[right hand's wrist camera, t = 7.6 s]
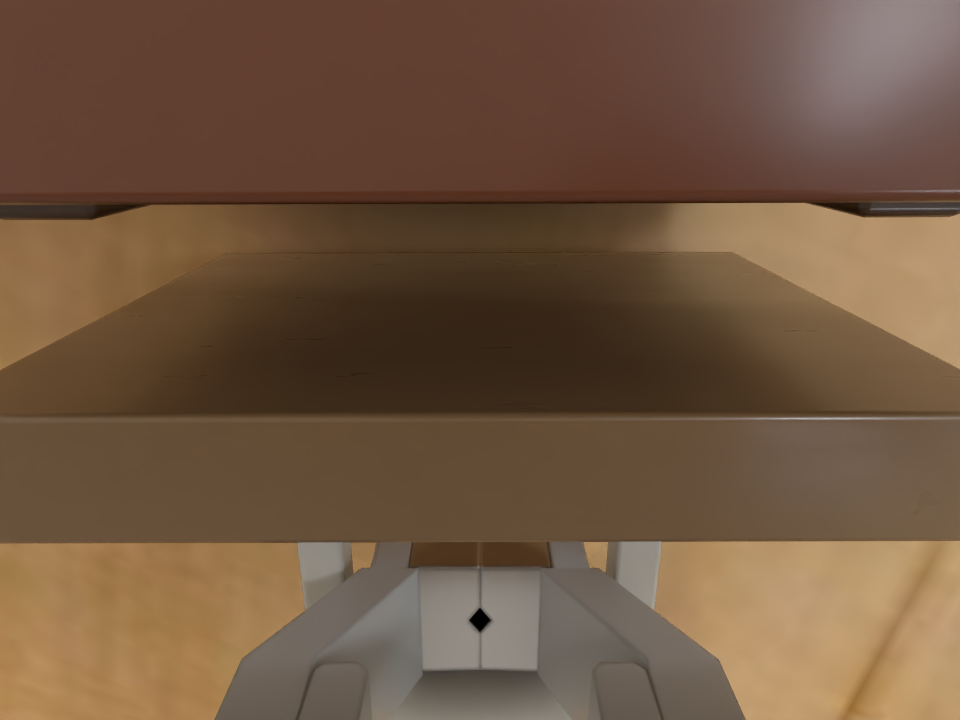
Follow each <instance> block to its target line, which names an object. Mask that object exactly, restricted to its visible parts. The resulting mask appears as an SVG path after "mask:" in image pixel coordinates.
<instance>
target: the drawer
mask: <svg viewBox="0 0 960 720" xmlns="http://www.w3.org/2000/svg"><path fill="white" fill-rule="evenodd" d="M808 204H812V205H816V206H820V207H824V208H828V209H832V210H836V211H840V212H844V213H848V214H852V215H857V216H861V217H950V216H954V215H957V214H960V202H846V203H808ZM144 206H148V205H0V219H3V220H93V219H97V218H101V217H105V216H109V215H113V214H117V213H121V212H125V211H129V210H132V209H136V208H140V207H144ZM680 541H960V369H959V368H957V367H955V366H953V365H951V364H949V363H947V362H945V361H943V360H941V359H939V358H937V357H935V356H933V355H931V354H929V353H927V352H926V351H924V350H922V349H920V348H918V347H916V346H914V345H912V344H910V343H908V342H906V341H904V340H902V339H900V338H898V337H896V336H894V335H892V334H890V333H889V332H887V331H885V330H883V329H881V328H879V327H877V326H875V325H873V324H871V323H869V322H867V321H865V320H863V319H861V318H859V317H857V316H855V315H853V314H852V313H850V312H848V311H846V310H844V309H842V308H840V307H838V306H836V305H834V304H832V303H830V302H828V301H826V300H824V299H822V298H820V297H818V296H817V295H815V294H813V293H811V292H809V291H807V290H805V289H803V288H801V287H799V286H797V285H795V284H793V283H791V282H789V281H787V280H785V279H783V278H781V277H780V276H778V275H776V274H774V273H772V272H770V271H768V270H766V269H764V268H762V267H760V266H758V265H756V264H754V263H752V262H750V261H748V260H746V259H745V258H743V257H741V256H739V255H737V254H735V253H733V252H618V253H270V254H224V255H222V256H220V257H218V258H216V259H214V260H212V261H211V262H209V263H207V264H205V265H203V266H201V267H199V268H197V269H195V270H193V271H191V272H189V273H187V274H185V275H183V276H182V277H180V278H178V279H176V280H174V281H172V282H170V283H168V284H166V285H164V286H162V287H160V288H158V289H156V290H154V291H152V292H151V293H149V294H147V295H145V296H143V297H141V298H139V299H137V300H135V301H133V302H131V303H129V304H127V305H125V306H123V307H122V308H120V309H118V310H116V311H114V312H112V313H110V314H108V315H106V316H104V317H102V318H100V319H98V320H96V321H94V322H93V323H91V324H89V325H87V326H85V327H83V328H81V329H79V330H77V331H75V332H73V333H71V334H69V335H67V336H65V337H63V338H62V339H60V340H58V341H56V342H54V343H52V344H50V345H48V346H46V347H44V348H42V349H40V350H38V351H36V352H34V353H33V354H31V355H29V356H27V357H25V358H23V359H21V360H19V361H17V362H15V363H13V364H11V365H9V366H7V367H5V368H4V369H2V370H0V543H297V548H298V556H299V564H300V573H301V581H302V589H303V597H304V606H305V611H306V610H307V609H308V608H309V607H311V606H312V605H313V604H315V603H316V602H317V601H319V600H320V599H321V598H323V597H324V596H325V595H327V594H328V593H329V592H331V591H332V590H333V589H334V588H336V587H337V586H338V585H340V584H341V583H342V582H344V581H345V580H346V579H348V578H349V577H350V576H352V575H353V563H352V551H351V542H608V551H607V563H606V574H607V575H608V576H610V577H611V578H612V579H614V580H615V581H616V582H618V583H619V584H620V585H622V586H623V587H624V588H625V589H627V590H628V591H629V592H631V593H632V594H633V595H635V596H636V597H637V598H639V599H640V600H641V601H642V602H644V603H645V604H646V605H648V606H649V607H650V608H652V609H653V610H654V607H655V598H656V590H657V581H658V572H659V563H660V554H661V546H662V542H680ZM389 720H571V718H570V717H569V716H568V714H567V713H566V712H565V710H564V709H563V708H562V706H561V705H560V704H559V702H558V701H557V700H556V698H555V697H554V696H553V694H552V693H551V692H550V690H549V689H548V688H547V686H546V685H545V684H544V682H543V681H542V680H541V678H540V677H539V676H538V674H537V671H503V670H455V671H423V675H422V677H421V678H420V679H419V680H418V682H417V683H416V684H415V686H414V687H413V688H412V690H411V691H410V692H409V694H408V695H407V696H406V698H405V699H404V700H403V702H402V703H401V704H400V706H399V707H398V708H397V709H396V711H395V712H394V713H393V715H392V716H391V717H390V719H389Z"/></svg>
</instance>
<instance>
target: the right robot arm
mask: <svg viewBox="0 0 960 720" xmlns="http://www.w3.org/2000/svg"><path fill="white" fill-rule="evenodd" d="M455 670H503V671H537V674H538V676H539V677H540V678H541V680H542V681H543V682H544V684H545V685H546V686H547V688H548V689H549V690H550V692H551V693H552V694H553V696H554V697H555V698H556V700H557V701H558V702H559V704H560V705H561V706H562V708H563V709H564V710H565V712H566V713H567V714H568V716H569V717H570V718H571V720H746V719H745V717H744V715H743V713H742V711H741V708H740V706H739V704H738V702H737V699H736V697H735V695H734V693H733V690H732V688H731V686H730V684H729V681H728V679H727V677H726V675H725V672H724V670H723V668H722V666H721V663H720V661H719V660H718V659H717V658H716V657H714V656H713V655H712V654H711V653H709V652H708V651H707V650H705V649H704V648H703V647H701V646H700V645H699V644H697V643H696V642H695V641H694V640H692V639H691V638H690V637H688V636H687V635H686V634H684V633H683V632H682V631H680V630H679V629H678V628H676V627H675V626H674V625H673V624H671V623H670V622H669V621H667V620H666V619H665V618H663V617H662V616H661V615H659V614H658V613H657V612H656V611H654V610H653V609H652V608H650V607H649V606H648V605H646V604H645V603H644V602H642V601H641V600H640V599H639V598H637V597H636V596H635V595H633V594H632V593H631V592H629V591H628V590H627V589H625V588H624V587H623V586H622V585H620V584H619V583H618V582H616V581H615V580H614V579H612V578H611V577H610V576H608V575H607V574H606V573H605V572H603V571H602V570H601V569H599V568H589V564H588V560H587V556H586V552H585V548H584V544H583V542H377V543H376V548H375V552H374V556H373V560H372V564H371V568H361V569H359V570H358V571H357V572H355V573H354V574H353V575H352V576H350V577H349V578H348V579H346V580H345V581H344V582H342V583H341V584H340V585H338V586H337V587H336V588H334V589H333V590H332V591H331V592H329V593H328V594H327V595H325V596H324V597H323V598H321V599H320V600H319V601H317V602H316V603H315V604H313V605H312V606H311V607H309V608H308V609H307V610H306V611H304V612H303V613H302V614H300V615H299V616H298V617H296V618H295V619H294V620H292V621H291V622H290V623H288V624H287V625H286V626H284V627H283V628H282V629H281V630H279V631H278V632H277V633H275V634H274V635H273V636H271V637H270V638H269V639H267V640H266V641H265V642H263V643H262V644H261V645H260V646H258V647H257V648H256V649H254V650H253V651H252V652H250V653H249V654H248V655H246V656H245V657H244V658H242V660H241V662H240V664H239V666H238V669H237V671H236V673H235V675H234V677H233V680H232V682H231V684H230V686H229V688H228V691H227V693H226V695H225V697H224V700H223V702H222V704H221V706H220V708H219V711H218V713H217V715H216V717H215V719H214V720H389V719H390V717H391V716H392V715H393V713H394V712H395V711H396V709H397V708H398V707H399V706H400V704H401V703H402V702H403V700H404V699H405V698H406V696H407V695H408V694H409V692H410V691H411V690H412V688H413V687H414V686H415V684H416V683H417V682H418V680H419V679H420V678H421V677H422V675H423V671H455Z"/></svg>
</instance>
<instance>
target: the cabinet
mask: <svg viewBox="0 0 960 720" xmlns="http://www.w3.org/2000/svg"><path fill="white" fill-rule="evenodd" d="M846 202H960V0H0V205H159V204H502V203H846Z"/></svg>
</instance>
